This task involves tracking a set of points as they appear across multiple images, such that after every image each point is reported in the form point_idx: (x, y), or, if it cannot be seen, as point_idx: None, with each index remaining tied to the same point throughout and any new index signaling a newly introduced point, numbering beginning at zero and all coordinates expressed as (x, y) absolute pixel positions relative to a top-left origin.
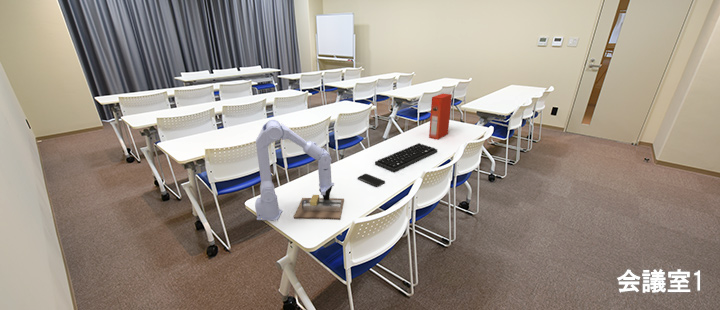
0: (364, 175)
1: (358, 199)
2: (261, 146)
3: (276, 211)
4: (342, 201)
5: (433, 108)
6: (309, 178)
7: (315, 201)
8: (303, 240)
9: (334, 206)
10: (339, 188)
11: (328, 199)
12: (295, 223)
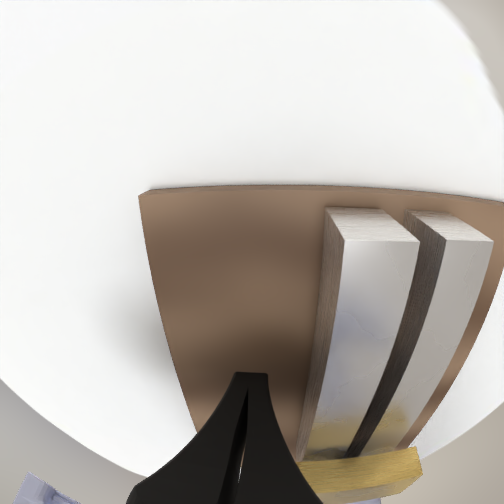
0: None
1: (121, 32)
2: None
3: (370, 501)
4: (210, 205)
5: None
6: (33, 403)
7: (408, 481)
8: None
9: (468, 311)
10: (11, 266)
11: (268, 391)
12: (437, 430)
